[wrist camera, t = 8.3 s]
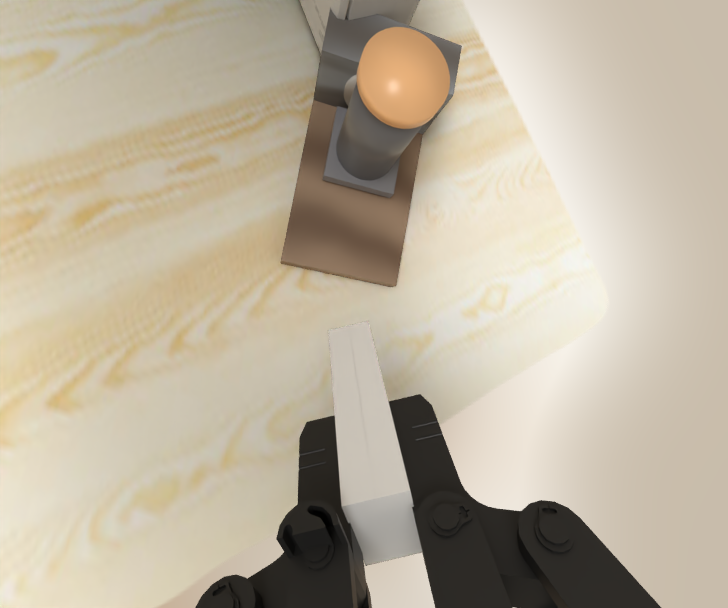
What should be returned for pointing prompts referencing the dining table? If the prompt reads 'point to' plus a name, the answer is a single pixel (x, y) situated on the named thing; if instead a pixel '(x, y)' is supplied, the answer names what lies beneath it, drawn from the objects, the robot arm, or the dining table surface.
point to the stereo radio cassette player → (354, 12)
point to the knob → (386, 109)
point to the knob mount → (341, 203)
